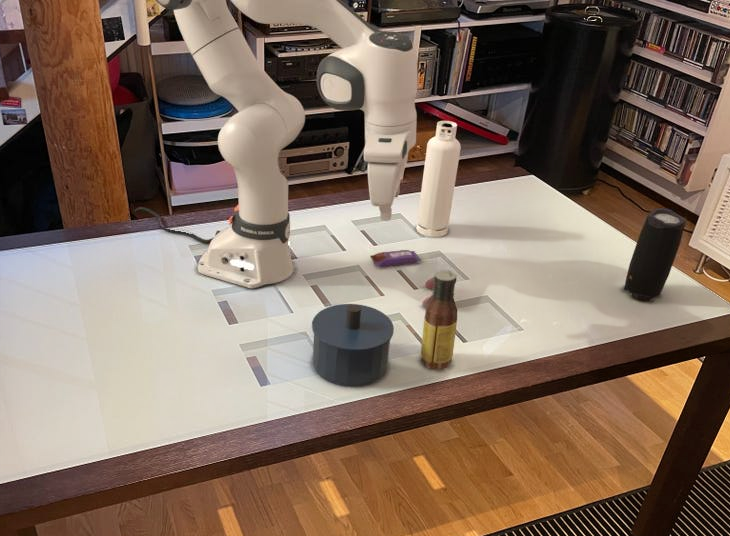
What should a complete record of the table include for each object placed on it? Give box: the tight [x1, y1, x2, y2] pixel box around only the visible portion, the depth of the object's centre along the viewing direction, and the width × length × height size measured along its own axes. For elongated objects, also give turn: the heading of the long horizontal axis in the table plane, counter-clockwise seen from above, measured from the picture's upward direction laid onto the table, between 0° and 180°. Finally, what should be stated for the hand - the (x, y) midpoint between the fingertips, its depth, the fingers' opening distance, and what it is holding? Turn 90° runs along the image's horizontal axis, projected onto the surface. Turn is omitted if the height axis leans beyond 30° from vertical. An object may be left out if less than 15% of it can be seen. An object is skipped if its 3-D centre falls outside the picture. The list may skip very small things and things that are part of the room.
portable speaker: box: [623, 207, 687, 302], centre depth 170 cm, size 9×9×20 cm
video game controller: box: [422, 276, 435, 309], centre depth 170 cm, size 10×5×7 cm, turn 168°
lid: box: [311, 303, 395, 352], centre depth 145 cm, size 16×16×5 cm
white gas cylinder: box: [415, 120, 462, 238], centre depth 191 cm, size 8×8×28 cm
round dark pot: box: [312, 334, 391, 388], centre depth 148 cm, size 15×15×8 cm
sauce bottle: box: [420, 269, 459, 370], centre depth 146 cm, size 7×6×20 cm
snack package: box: [369, 249, 422, 268], centre depth 184 cm, size 12×2×5 cm
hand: (390, 207), depth 140 cm, fingers open, 8 cm apart
